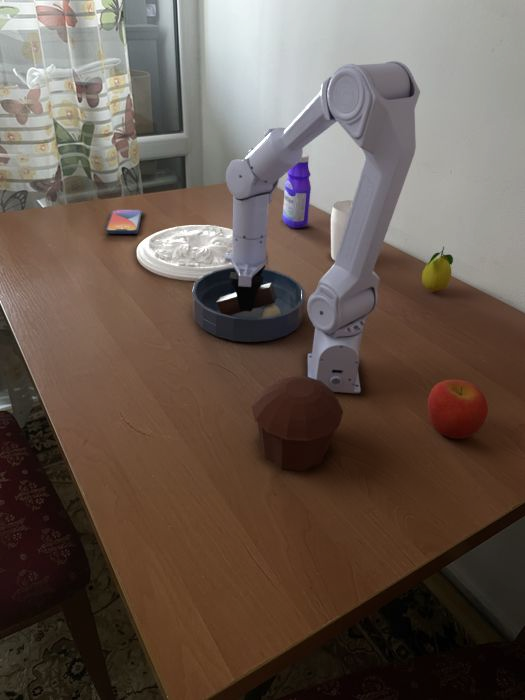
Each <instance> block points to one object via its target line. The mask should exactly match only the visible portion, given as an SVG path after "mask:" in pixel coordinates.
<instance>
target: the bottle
mask: <svg viewBox="0 0 525 700" xmlns="http://www.w3.org/2000/svg"><path fill="white" fill-rule="evenodd" d="M309 158H310V155H309V154H307V153H303V154H302V158H301V160H300V162H299V163H297V164H296V165H295V166H294V167H293V168H292V169H290V170H289V171H288V172H287V173H286V174H287V178H286V180H285V182H284V194H283V207H282V221H283V223H284V224H285V225H286V226H287V227H289V228H292V229H300V228H301V229H302V228H305V227H306V226H307V225H308V222H309V211H310V202H311V190H312V186H311V185H312V184H311V181H310V177H311V172H310V169H309Z"/></svg>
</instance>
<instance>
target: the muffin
mask: <svg viewBox="0 0 525 700" xmlns="http://www.w3.org/2000/svg"><path fill="white" fill-rule="evenodd" d="M251 409H252V414H253V417H254V421H255V422H256V423H257V428H258V435H259V444H260V446H261V448H262V450H263V454H264V459H265V460H267V461H269V462H270V463H273V464H274V465H275V466H276V467H278V468H279V469H280V470H293V471H299V472H305V471H307V470H309V469H310V468H312V467H316V466H319V465H321V464H322V461H323V458H324V457H325V455H326V453H327V451H328V449H329V446H330V444H331V442H332V439H333V437H334V434H335V431H336V430H337V429H338V428H339V426H340V425H341V422H342V418H343V414H344V410H343V408H342V405H341V403H340V401H339V399H338V398H337V396H336V394H335V392H333V391H332V390H331V389H330V388H329V387H327V386H326V385H325V384H324V383H323V382H321V381H319V380H316V379H313V378H310V377H308V375H306V376H305V375H292V376H288V377H283V378H280V379H277V380H275V381H274V382H273V383H271V384H270V385H268V386H267V387H266V388H264V389H263V390H262V391H261V392H259V393H258V394H257V396H256V398H255V400H254V402H253V404H252V406H251Z"/></svg>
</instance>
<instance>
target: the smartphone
mask: <svg viewBox="0 0 525 700" xmlns="http://www.w3.org/2000/svg"><path fill="white" fill-rule="evenodd" d="M142 214H143V213H142V210H141V209H113V210H112V211H111V214H110V216H109V220H108V222H107V224H106V228H105V232H106V233H107V234H108V235H119V234H121V235H122V234H124V235H125V234H126V235H127V234H128V235H129V234H130V235H131V234H133V235H134V234H138V233H139V228H140V223H141V220H142V216H143V215H142Z"/></svg>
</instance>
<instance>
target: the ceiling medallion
mask: <svg viewBox="0 0 525 700" xmlns="http://www.w3.org/2000/svg"><path fill="white" fill-rule="evenodd" d="M232 239H233V229H231V228H228V227H223V226H218V225H211V224H193V225H192V224H189V225H180V226H175V227H169V228H167V229H163V230H160V231H157V232H155V233H153V234H151V235H149V236H147V237H145V238H144V239H143V240H142V241H141V242H140V243H139V244H138V246H137V247H136V259H137V262H138V263H139V264H140V265H141V266H142V267H143V268H144V269H146V270H148V271H149V272H151V273H153V274H156V275H158V276H160V277H161V276H162V277H164V278H168V279H174V280H180V281H186V282H187V281H188V282H196V281H198V280H199V279H200V278H201V277H202V276H204V275H206V274H209V273H211V272H213V271H216V270H221V269H225V268H232V267H234V266H233V264H232V263H231V262H226V261H225V256H226V254H227V253H232Z"/></svg>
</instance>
